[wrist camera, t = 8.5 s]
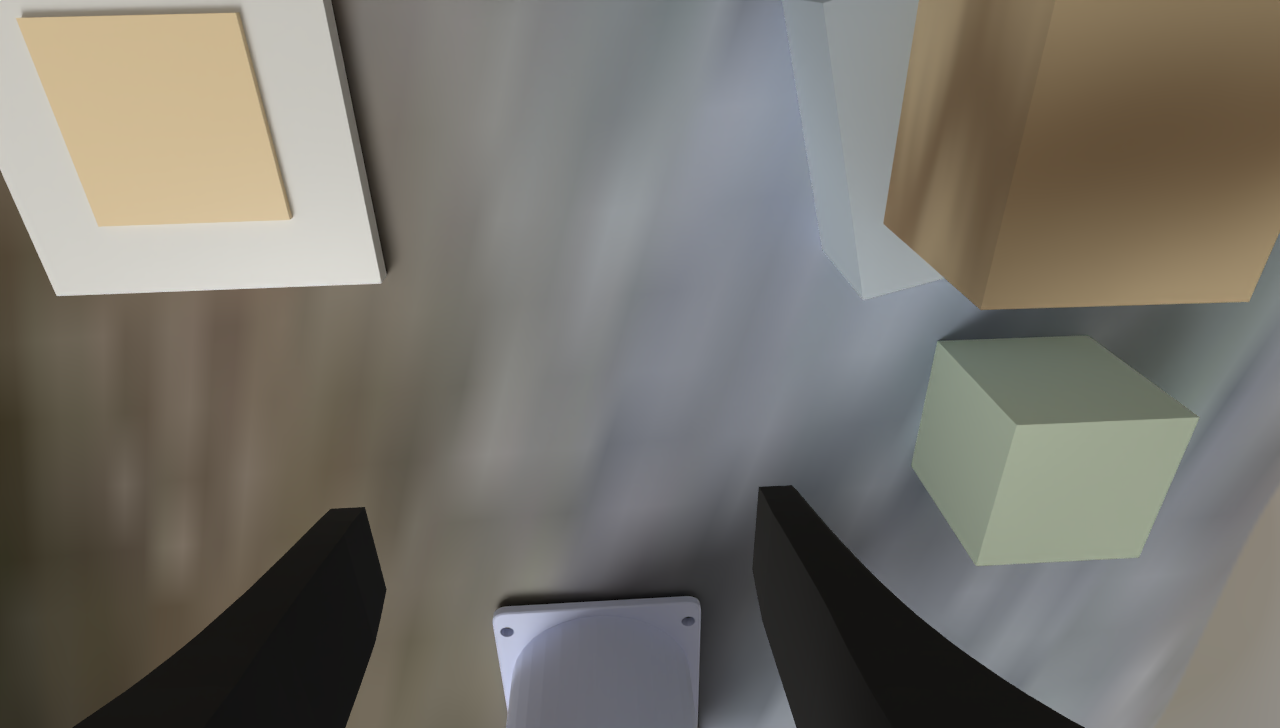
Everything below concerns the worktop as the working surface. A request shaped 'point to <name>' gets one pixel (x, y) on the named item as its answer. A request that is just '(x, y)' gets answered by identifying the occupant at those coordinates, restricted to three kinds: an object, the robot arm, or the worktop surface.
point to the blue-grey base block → (855, 131)
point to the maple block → (1091, 150)
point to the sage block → (1046, 449)
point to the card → (184, 145)
